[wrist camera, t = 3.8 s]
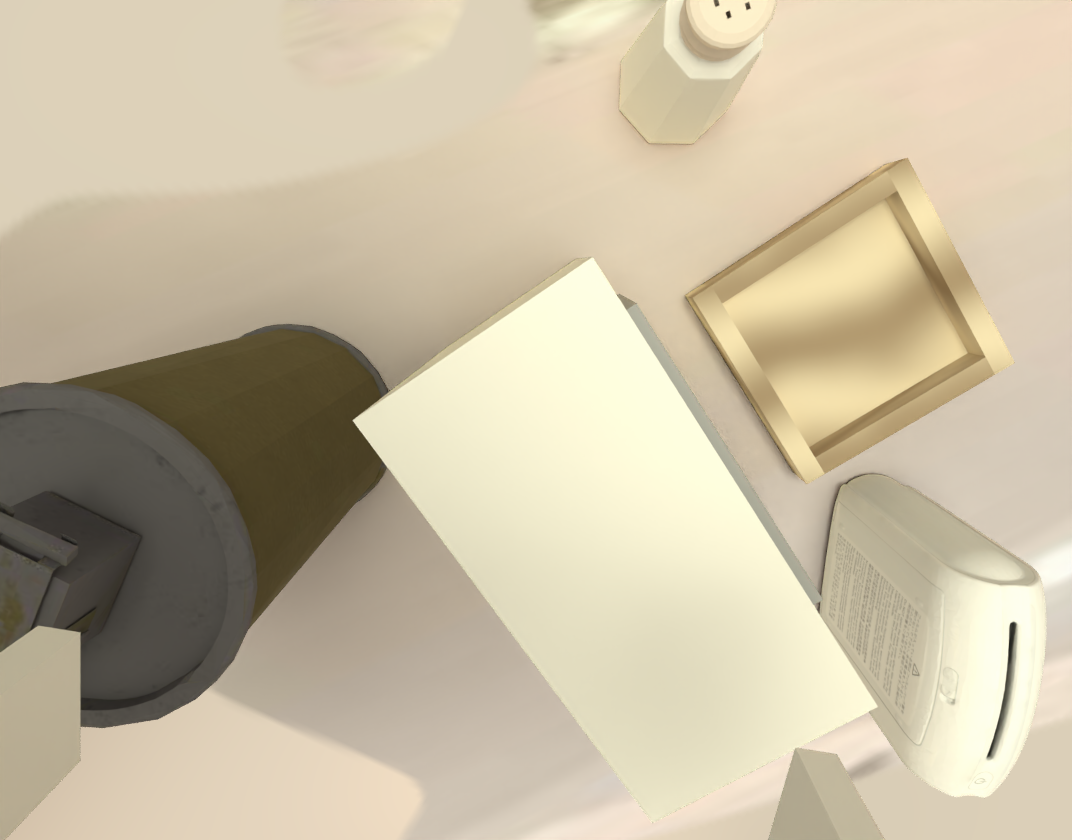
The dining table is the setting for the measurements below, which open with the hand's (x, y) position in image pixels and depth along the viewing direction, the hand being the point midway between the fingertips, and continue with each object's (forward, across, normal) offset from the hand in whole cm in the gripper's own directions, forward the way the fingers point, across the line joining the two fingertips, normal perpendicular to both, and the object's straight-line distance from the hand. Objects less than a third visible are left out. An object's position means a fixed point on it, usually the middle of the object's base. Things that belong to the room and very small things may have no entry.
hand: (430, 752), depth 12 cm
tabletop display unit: (+24, +4, +1) cm, 24 cm away
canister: (+24, -11, -2) cm, 26 cm away
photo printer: (+24, +20, -4) cm, 31 cm away
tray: (+24, +15, +8) cm, 29 cm away
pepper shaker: (+24, +5, +18) cm, 30 cm away
